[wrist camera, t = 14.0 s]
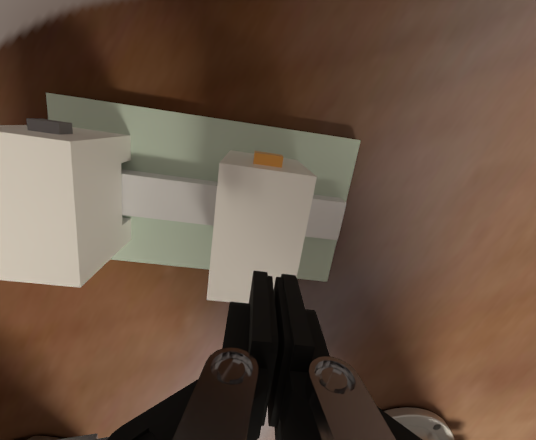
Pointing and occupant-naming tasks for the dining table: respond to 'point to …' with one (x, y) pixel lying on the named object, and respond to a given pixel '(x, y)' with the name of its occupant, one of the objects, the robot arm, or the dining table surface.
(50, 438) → the plant pot
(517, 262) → the dining table surface
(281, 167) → the block
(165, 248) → the din panel
